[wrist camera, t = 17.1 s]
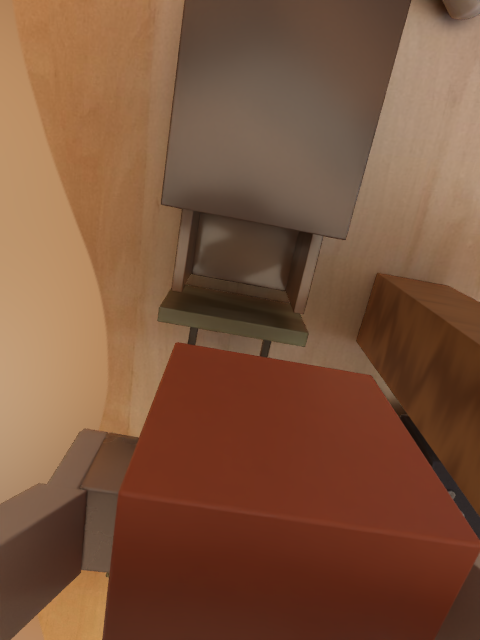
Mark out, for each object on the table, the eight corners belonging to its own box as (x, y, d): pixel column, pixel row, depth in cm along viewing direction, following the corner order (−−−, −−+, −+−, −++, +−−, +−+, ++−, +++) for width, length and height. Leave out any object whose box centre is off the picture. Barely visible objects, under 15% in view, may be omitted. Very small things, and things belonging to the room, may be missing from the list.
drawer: (282, 361, 39) (291, 400, 32) (166, 341, 39) (150, 377, 32) (330, 164, 33) (354, 161, 26) (194, 136, 33) (181, 126, 26)
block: (322, 524, 11) (376, 754, 6) (152, 499, 10) (92, 723, 6) (372, 374, 9) (486, 545, 5) (175, 340, 9) (116, 492, 5)
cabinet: (320, 225, 36) (345, 240, 27) (180, 197, 35) (160, 204, 26) (368, 34, 31) (417, -20, 22) (206, -2, 30) (192, -73, 22)
